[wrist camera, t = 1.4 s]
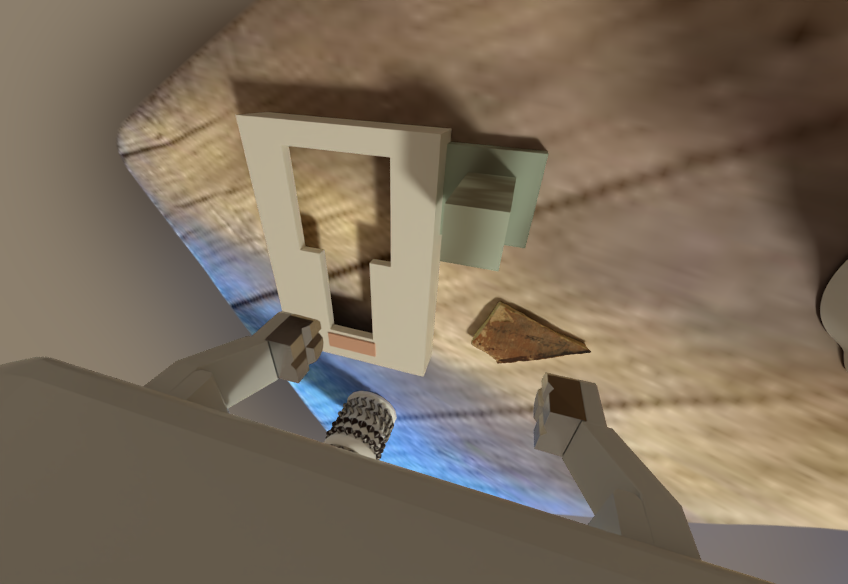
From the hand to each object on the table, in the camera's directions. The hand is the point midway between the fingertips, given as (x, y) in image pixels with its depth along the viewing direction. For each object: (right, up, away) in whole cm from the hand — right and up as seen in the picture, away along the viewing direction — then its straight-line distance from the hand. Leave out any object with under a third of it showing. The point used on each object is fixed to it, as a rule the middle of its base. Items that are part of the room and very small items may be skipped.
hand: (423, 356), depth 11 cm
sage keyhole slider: (+6, +11, +18) cm, 22 cm away
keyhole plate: (-7, +7, +24) cm, 26 cm away
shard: (+11, -1, +25) cm, 27 cm away
